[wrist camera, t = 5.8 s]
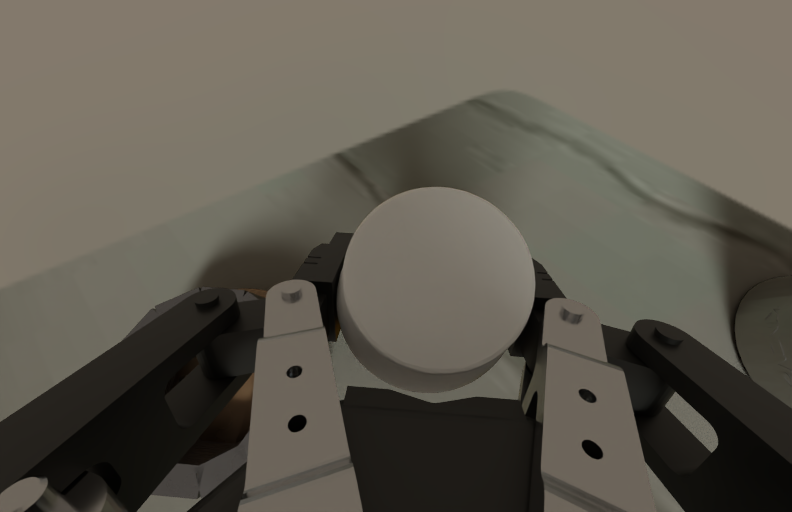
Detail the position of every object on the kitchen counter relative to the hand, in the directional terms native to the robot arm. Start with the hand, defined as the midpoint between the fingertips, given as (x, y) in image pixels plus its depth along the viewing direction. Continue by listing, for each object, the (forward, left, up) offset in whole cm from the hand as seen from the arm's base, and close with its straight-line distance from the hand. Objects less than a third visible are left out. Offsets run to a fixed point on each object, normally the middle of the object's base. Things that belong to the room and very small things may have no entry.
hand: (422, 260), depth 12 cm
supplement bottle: (0, +2, -5) cm, 5 cm away
